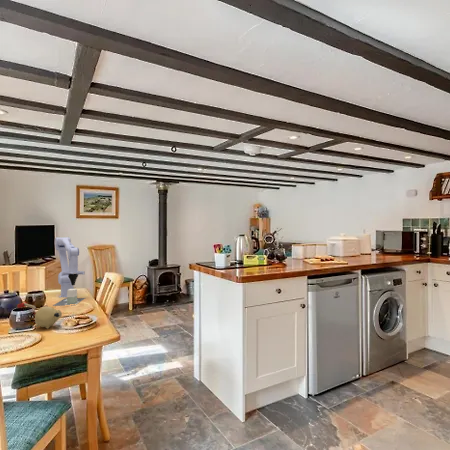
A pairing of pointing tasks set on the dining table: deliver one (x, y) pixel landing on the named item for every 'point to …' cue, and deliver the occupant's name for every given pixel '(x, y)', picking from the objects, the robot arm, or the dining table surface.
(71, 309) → the dining table surface
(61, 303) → the mat
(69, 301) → the base block
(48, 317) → the toy pig
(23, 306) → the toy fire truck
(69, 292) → the top block
